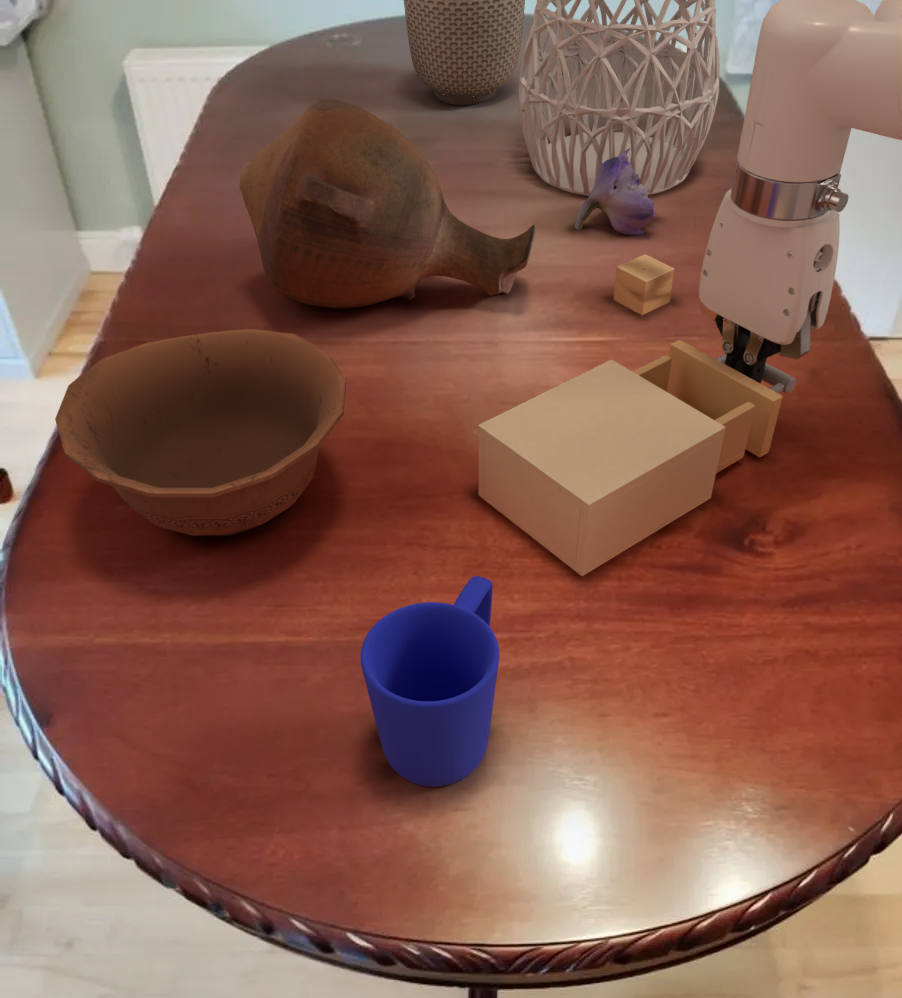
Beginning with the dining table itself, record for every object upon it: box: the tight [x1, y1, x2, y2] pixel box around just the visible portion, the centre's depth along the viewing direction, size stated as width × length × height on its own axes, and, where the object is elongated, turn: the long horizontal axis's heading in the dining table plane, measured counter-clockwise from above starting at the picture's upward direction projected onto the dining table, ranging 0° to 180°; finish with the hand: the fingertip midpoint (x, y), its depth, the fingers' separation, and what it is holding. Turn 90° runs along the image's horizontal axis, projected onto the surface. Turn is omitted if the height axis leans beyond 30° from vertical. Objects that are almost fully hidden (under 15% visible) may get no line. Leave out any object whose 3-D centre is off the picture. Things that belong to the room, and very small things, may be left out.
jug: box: [239, 98, 537, 309], centre depth 101 cm, size 20×20×30 cm
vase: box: [518, 0, 721, 197], centre depth 119 cm, size 24×24×30 cm
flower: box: [573, 148, 657, 236], centre depth 115 cm, size 9×9×10 cm
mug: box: [360, 575, 500, 788], centre depth 64 cm, size 8×12×10 cm
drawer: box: [631, 339, 797, 474], centre depth 85 cm, size 19×11×6 cm, turn 128°
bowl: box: [54, 328, 347, 537], centre depth 80 cm, size 22×22×11 cm
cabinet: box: [477, 359, 726, 577], centre depth 81 cm, size 15×13×8 cm
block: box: [612, 253, 675, 316], centre depth 104 cm, size 4×4×4 cm
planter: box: [403, 0, 526, 106], centre depth 143 cm, size 17×17×16 cm
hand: (738, 392), depth 88 cm, fingers closed
